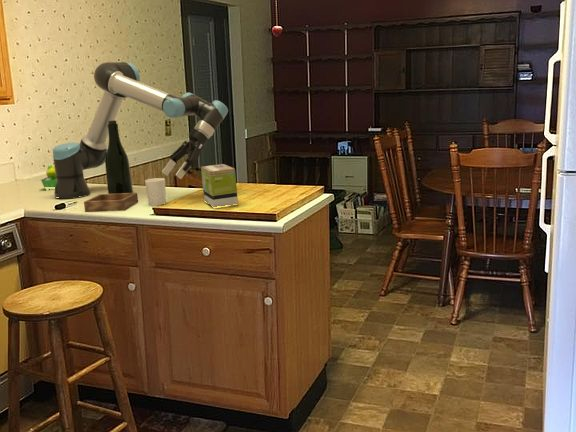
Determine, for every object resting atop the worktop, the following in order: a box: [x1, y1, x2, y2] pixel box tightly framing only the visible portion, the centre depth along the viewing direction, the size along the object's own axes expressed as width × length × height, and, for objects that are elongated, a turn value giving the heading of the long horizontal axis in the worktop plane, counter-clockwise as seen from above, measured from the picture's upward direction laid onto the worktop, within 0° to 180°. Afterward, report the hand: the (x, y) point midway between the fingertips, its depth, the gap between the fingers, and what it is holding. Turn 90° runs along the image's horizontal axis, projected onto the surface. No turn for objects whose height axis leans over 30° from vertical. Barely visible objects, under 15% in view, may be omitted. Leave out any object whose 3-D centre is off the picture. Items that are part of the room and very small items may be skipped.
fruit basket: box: [40, 165, 57, 188], centre depth 308 cm, size 11×9×11 cm
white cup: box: [144, 177, 167, 207], centre depth 251 cm, size 8×8×10 cm
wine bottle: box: [104, 120, 134, 194], centre depth 272 cm, size 10×10×33 cm
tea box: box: [200, 163, 239, 207], centre depth 243 cm, size 15×10×15 cm, turn 22°
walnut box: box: [83, 192, 139, 213], centre depth 252 cm, size 16×16×4 cm
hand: (171, 175), depth 253 cm, fingers open, 13 cm apart
